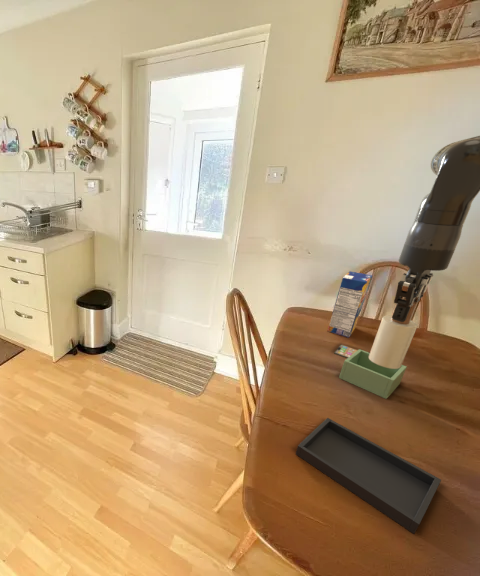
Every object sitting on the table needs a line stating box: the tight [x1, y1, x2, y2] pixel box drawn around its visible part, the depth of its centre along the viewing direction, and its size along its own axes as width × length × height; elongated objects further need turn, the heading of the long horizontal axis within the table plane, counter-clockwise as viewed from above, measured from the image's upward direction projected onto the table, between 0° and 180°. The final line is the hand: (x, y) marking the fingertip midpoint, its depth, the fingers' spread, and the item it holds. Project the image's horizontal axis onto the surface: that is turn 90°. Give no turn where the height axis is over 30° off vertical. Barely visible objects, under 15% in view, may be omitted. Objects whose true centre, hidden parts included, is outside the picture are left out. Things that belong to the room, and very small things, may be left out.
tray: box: [295, 417, 442, 535], centre depth 65 cm, size 20×15×3 cm
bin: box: [338, 348, 408, 400], centre depth 91 cm, size 11×11×7 cm
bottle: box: [369, 299, 419, 369], centre depth 73 cm, size 6×6×16 cm
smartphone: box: [333, 344, 359, 359], centre depth 102 cm, size 8×15×1 cm, turn 41°
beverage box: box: [326, 270, 374, 339], centre depth 118 cm, size 7×11×22 cm, turn 132°
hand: (401, 317), depth 71 cm, fingers closed on bottle, 3 cm apart
